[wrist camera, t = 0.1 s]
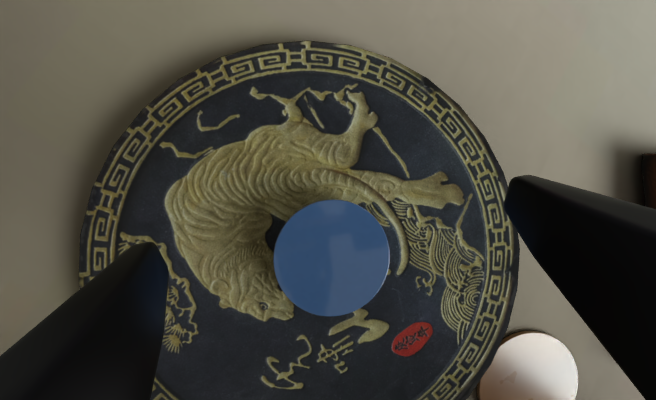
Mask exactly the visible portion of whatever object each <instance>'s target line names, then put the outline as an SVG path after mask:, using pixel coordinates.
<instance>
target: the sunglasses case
mask: <svg viewBox="0 0 656 400" xmlns="http://www.w3.org/2000/svg"><path fill="white" fill-rule="evenodd" d="M642 155H643V158H644V159H643V161H642V173H643V186H644V193H645V205H646V207H649V208H652V209H656V154H642Z"/></svg>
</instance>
